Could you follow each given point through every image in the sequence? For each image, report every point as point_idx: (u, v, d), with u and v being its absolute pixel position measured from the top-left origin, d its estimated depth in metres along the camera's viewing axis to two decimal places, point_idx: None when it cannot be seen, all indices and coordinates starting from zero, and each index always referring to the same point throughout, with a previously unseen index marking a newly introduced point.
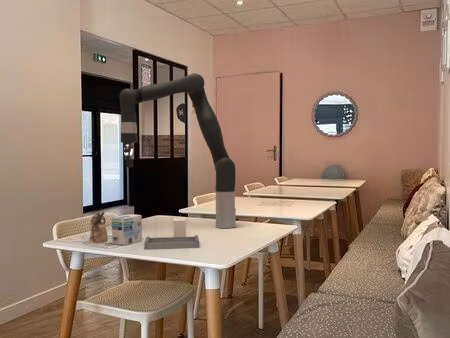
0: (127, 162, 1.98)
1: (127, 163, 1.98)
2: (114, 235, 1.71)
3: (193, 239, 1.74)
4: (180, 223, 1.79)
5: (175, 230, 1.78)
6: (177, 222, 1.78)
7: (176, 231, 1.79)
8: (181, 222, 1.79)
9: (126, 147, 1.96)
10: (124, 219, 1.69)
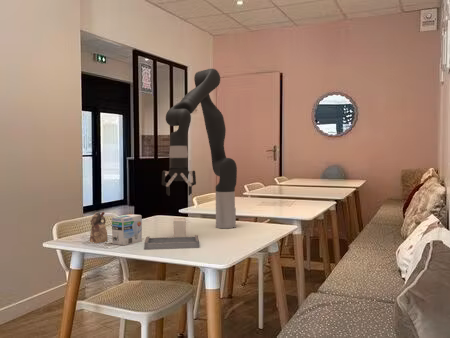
0: (191, 189, 1.82)
1: (191, 190, 1.82)
2: (114, 235, 1.71)
3: (193, 239, 1.74)
4: (180, 223, 1.79)
5: (175, 230, 1.78)
6: (177, 222, 1.78)
7: (176, 231, 1.79)
8: (181, 222, 1.79)
9: None
10: (124, 219, 1.69)
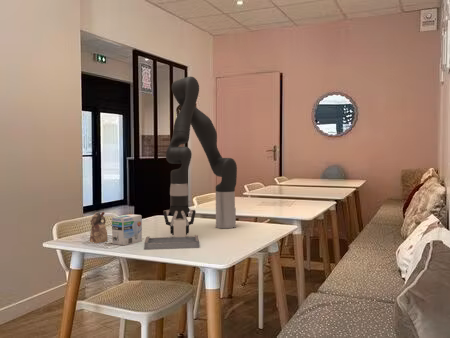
0: (188, 228, 1.83)
1: (188, 230, 1.83)
2: (114, 235, 1.71)
3: (193, 239, 1.74)
4: (180, 223, 1.79)
5: (175, 230, 1.78)
6: (177, 222, 1.78)
7: (176, 231, 1.79)
8: (181, 222, 1.79)
9: None
10: (124, 219, 1.69)
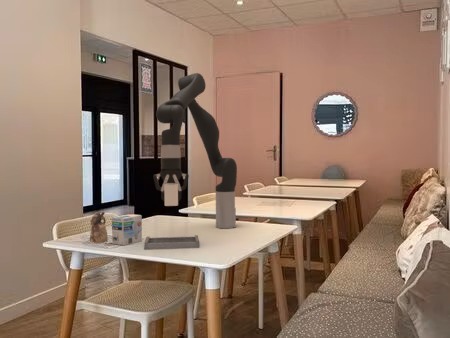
0: None
1: None
2: (114, 235, 1.71)
3: (193, 239, 1.74)
4: (172, 187, 1.64)
5: (166, 195, 1.64)
6: (168, 186, 1.64)
7: (167, 196, 1.64)
8: (173, 186, 1.64)
9: None
10: (124, 219, 1.69)
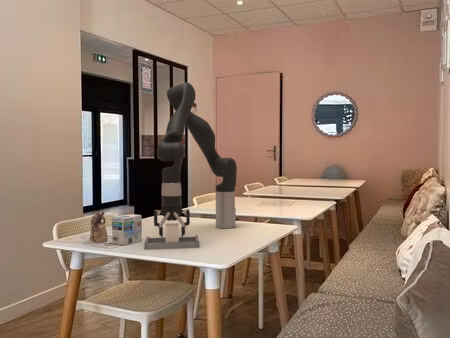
0: None
1: (184, 231, 1.69)
2: (114, 235, 1.71)
3: (193, 239, 1.74)
4: (172, 229, 1.64)
5: (167, 237, 1.64)
6: (169, 228, 1.64)
7: (168, 238, 1.64)
8: (174, 228, 1.64)
9: (189, 212, 1.68)
10: (124, 219, 1.69)
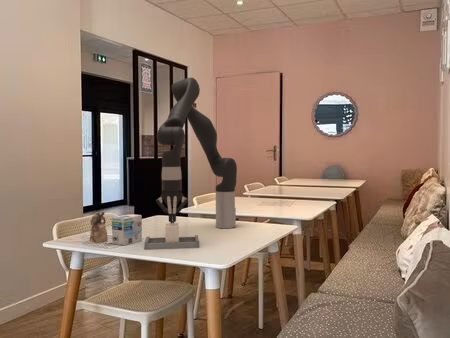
0: None
1: (175, 218, 1.68)
2: (114, 235, 1.71)
3: (193, 239, 1.74)
4: (172, 229, 1.64)
5: (167, 237, 1.64)
6: (169, 228, 1.64)
7: (168, 238, 1.64)
8: (174, 228, 1.64)
9: (186, 202, 1.68)
10: (124, 219, 1.69)
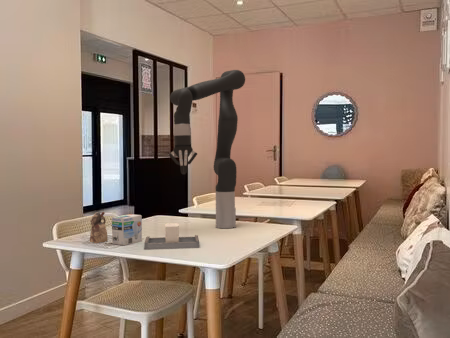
0: (186, 168, 1.91)
1: (186, 169, 1.91)
2: (114, 235, 1.71)
3: (193, 239, 1.74)
4: (172, 229, 1.64)
5: (167, 237, 1.64)
6: (169, 228, 1.64)
7: (168, 238, 1.64)
8: (174, 228, 1.64)
9: (195, 155, 1.91)
10: (124, 219, 1.69)
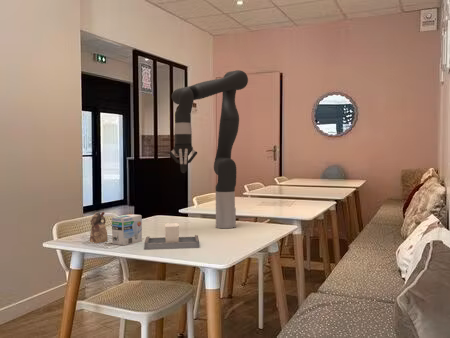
0: (186, 167, 1.92)
1: (186, 168, 1.92)
2: (114, 235, 1.71)
3: (193, 239, 1.74)
4: (172, 229, 1.64)
5: (167, 237, 1.64)
6: (169, 228, 1.64)
7: (168, 238, 1.64)
8: (174, 228, 1.64)
9: (196, 154, 1.92)
10: (124, 219, 1.69)
